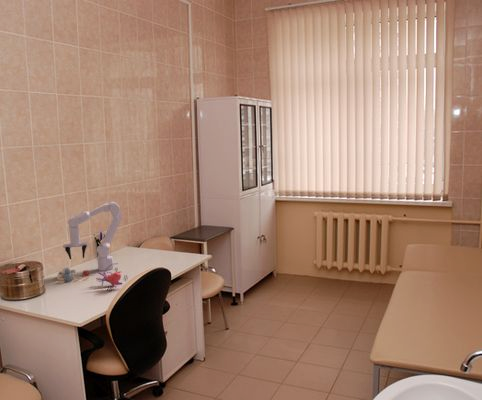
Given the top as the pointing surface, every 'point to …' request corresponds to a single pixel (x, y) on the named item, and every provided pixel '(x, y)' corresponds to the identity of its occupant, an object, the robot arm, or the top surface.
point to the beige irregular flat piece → (73, 273)
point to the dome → (64, 270)
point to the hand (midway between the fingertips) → (77, 258)
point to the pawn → (67, 275)
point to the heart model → (111, 277)
